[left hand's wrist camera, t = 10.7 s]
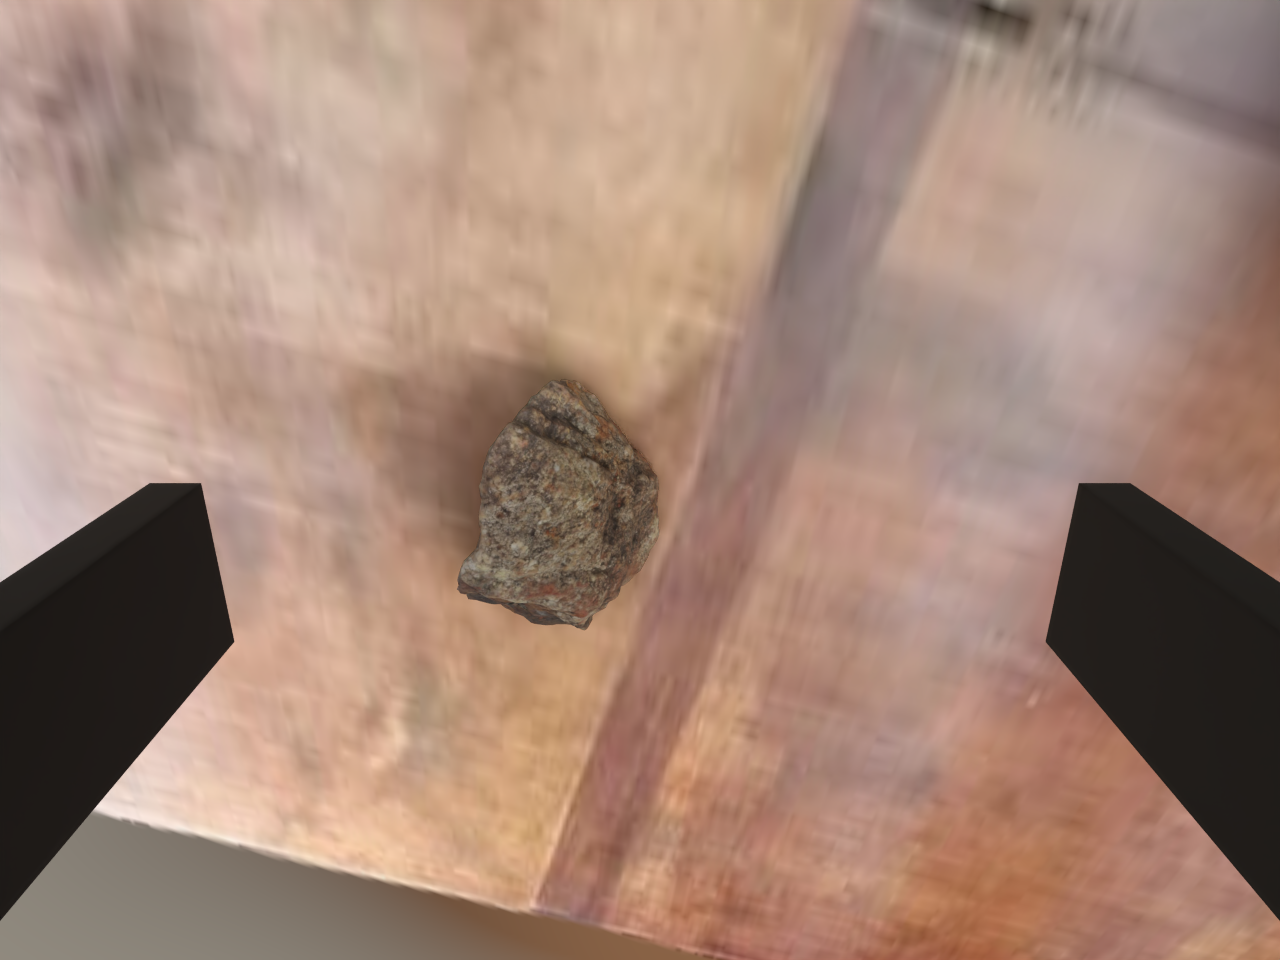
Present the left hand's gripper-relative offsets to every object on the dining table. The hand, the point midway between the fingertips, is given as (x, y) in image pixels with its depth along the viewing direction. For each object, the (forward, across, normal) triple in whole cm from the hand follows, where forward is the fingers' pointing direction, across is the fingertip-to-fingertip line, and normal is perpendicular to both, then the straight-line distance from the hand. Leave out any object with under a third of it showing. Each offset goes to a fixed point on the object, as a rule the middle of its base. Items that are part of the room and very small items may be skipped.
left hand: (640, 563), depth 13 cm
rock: (+30, -4, -12) cm, 33 cm away
